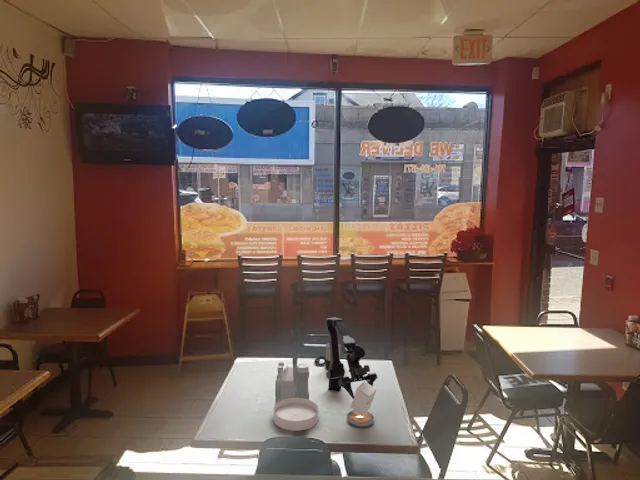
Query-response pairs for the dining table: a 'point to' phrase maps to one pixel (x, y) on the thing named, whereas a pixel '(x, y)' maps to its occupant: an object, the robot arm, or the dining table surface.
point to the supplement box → (363, 398)
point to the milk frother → (328, 357)
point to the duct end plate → (360, 419)
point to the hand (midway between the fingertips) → (362, 397)
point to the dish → (295, 414)
